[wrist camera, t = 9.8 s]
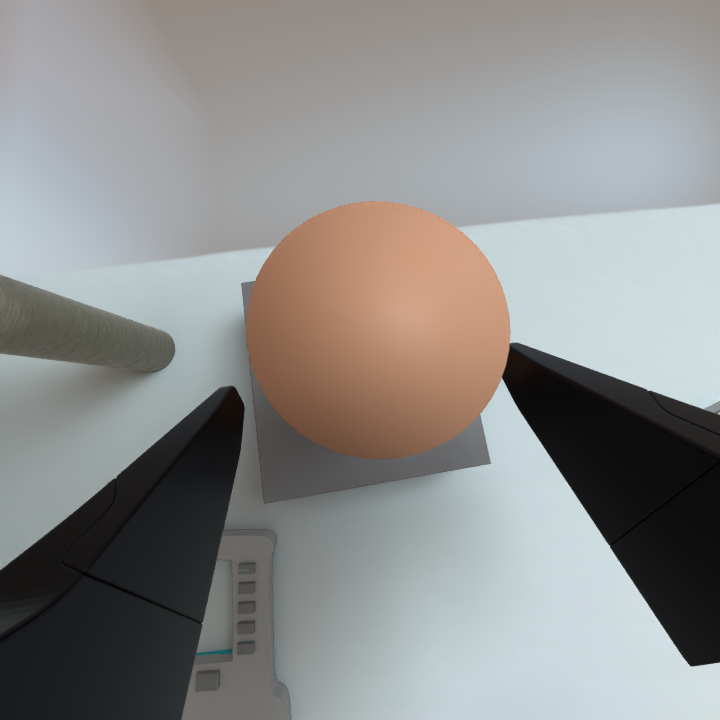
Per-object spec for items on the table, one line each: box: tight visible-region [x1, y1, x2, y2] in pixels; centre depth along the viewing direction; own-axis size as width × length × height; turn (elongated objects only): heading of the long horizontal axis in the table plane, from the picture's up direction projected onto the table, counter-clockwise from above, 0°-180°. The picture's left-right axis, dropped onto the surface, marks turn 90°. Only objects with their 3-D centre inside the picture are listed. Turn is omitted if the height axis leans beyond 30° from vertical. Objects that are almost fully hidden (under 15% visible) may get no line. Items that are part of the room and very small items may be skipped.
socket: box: [241, 281, 491, 504], centre depth 17 cm, size 12×12×4 cm
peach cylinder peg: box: [246, 201, 510, 459], centre depth 11 cm, size 5×5×13 cm
